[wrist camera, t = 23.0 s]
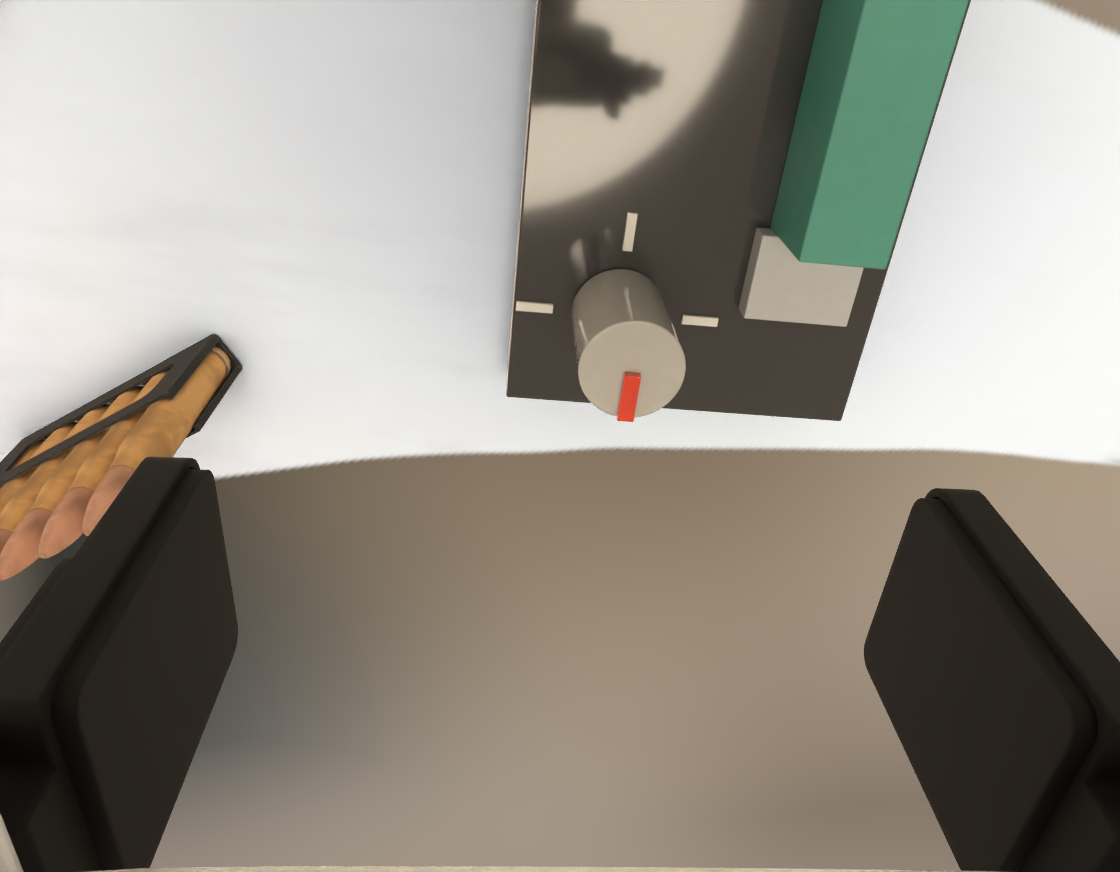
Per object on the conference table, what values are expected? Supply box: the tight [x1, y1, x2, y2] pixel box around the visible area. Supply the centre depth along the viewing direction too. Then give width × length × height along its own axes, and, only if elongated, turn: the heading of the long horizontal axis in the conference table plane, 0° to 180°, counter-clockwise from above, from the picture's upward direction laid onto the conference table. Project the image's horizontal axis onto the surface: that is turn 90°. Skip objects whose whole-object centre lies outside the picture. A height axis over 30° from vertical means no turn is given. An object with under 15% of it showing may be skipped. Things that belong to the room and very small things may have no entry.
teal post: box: [739, 0, 969, 327], centre depth 28 cm, size 4×12×4 cm, turn 174°
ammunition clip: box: [0, 335, 242, 580], centre depth 31 cm, size 11×2×12 cm, turn 118°
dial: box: [571, 269, 686, 422], centre depth 30 cm, size 4×4×5 cm
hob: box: [506, 0, 971, 421], centre depth 31 cm, size 18×14×3 cm
